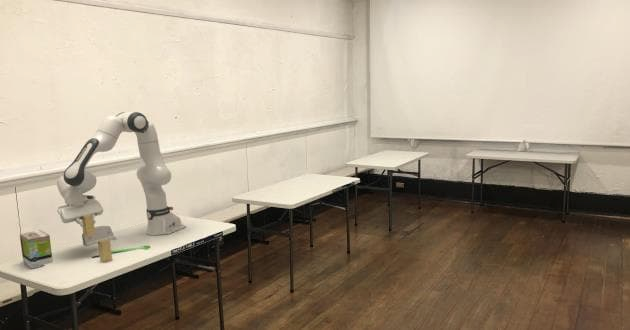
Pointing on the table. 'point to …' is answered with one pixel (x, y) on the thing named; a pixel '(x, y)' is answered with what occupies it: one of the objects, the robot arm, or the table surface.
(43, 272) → the table surface
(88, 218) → the wooden block
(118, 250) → the wrench
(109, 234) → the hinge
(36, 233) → the tea box
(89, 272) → the table surface
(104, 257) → the tan wooden block
